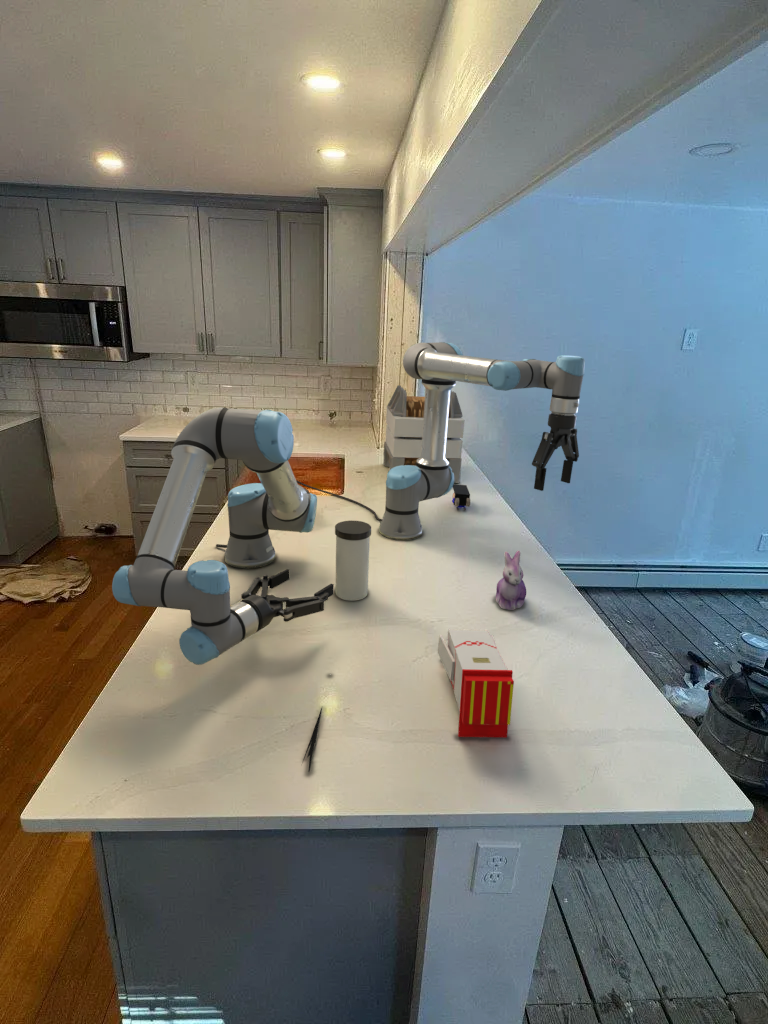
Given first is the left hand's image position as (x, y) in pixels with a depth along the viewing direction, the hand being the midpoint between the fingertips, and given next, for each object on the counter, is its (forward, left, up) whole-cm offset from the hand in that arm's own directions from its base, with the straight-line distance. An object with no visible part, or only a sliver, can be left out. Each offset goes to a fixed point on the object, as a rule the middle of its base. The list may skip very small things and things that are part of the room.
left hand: (309, 581), depth 138 cm
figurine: (+38, +40, -11) cm, 56 cm away
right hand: (+39, +64, +17) cm, 77 cm away
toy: (+44, -3, -11) cm, 46 cm away
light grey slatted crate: (-43, +139, -11) cm, 146 cm away
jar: (0, +19, -11) cm, 22 cm away
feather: (+24, -27, -11) cm, 38 cm away
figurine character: (-7, +105, -11) cm, 106 cm away
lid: (0, +19, +8) cm, 20 cm away
